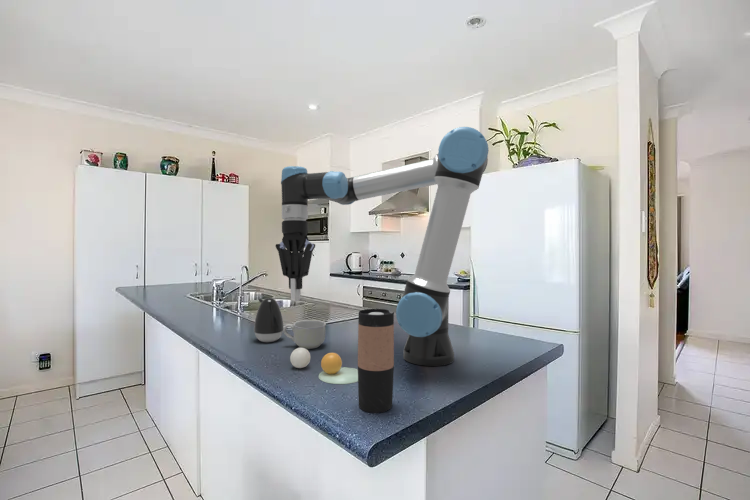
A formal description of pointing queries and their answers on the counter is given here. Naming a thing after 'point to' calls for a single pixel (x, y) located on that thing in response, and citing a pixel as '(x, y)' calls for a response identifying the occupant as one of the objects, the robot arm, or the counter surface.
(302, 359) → the cue ball
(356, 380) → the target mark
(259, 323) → the black and grey ovoid
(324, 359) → the orange ball
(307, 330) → the teacup
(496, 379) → the counter surface
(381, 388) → the travel mug
